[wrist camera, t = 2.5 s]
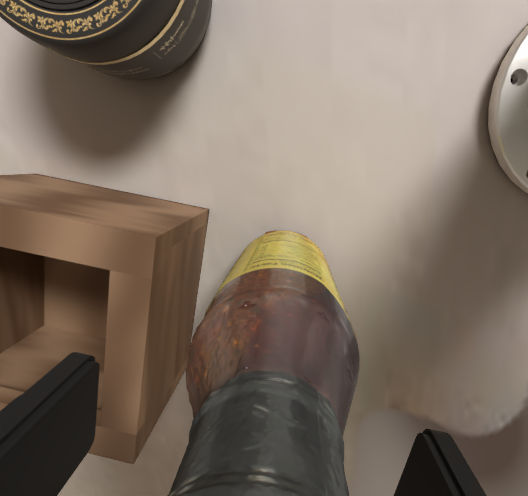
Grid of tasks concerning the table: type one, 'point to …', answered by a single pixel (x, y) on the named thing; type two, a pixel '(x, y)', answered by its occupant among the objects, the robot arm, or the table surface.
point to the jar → (114, 32)
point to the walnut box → (98, 296)
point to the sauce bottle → (271, 378)
